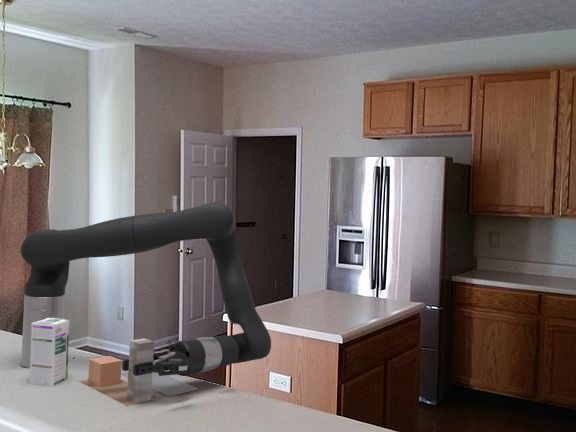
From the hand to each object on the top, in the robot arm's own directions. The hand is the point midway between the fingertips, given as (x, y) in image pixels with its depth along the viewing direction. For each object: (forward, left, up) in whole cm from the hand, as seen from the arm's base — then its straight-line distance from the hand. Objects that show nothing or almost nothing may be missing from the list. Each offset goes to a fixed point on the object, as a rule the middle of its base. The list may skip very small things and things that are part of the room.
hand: (128, 368), depth 119 cm
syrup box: (-22, -6, -8) cm, 24 cm away
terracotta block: (-14, +3, -7) cm, 16 cm away
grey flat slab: (-8, +13, -8) cm, 17 cm away
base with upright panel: (-8, +3, -8) cm, 12 cm away
